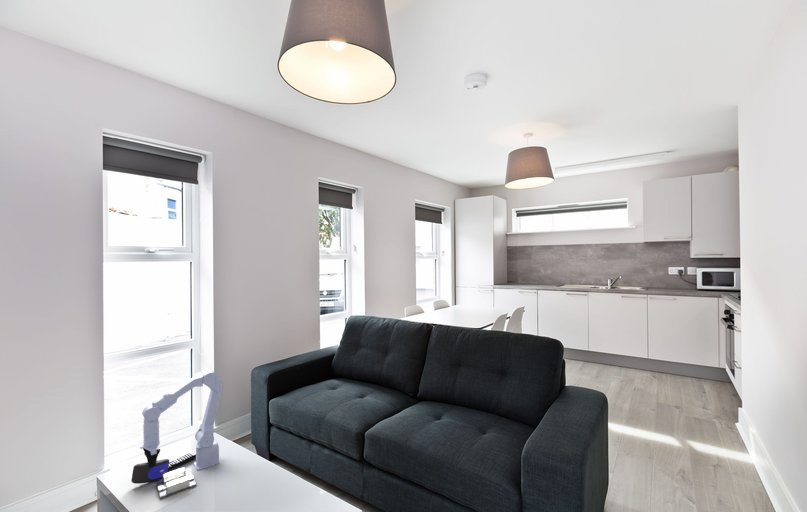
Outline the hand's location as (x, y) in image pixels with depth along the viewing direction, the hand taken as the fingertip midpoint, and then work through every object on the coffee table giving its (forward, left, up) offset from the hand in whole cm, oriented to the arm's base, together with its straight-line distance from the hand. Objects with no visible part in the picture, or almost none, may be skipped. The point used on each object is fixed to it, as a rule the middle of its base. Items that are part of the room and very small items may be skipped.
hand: (151, 464), depth 163 cm
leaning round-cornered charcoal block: (+1, 0, -7) cm, 7 cm away
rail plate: (-7, +11, -8) cm, 15 cm away
